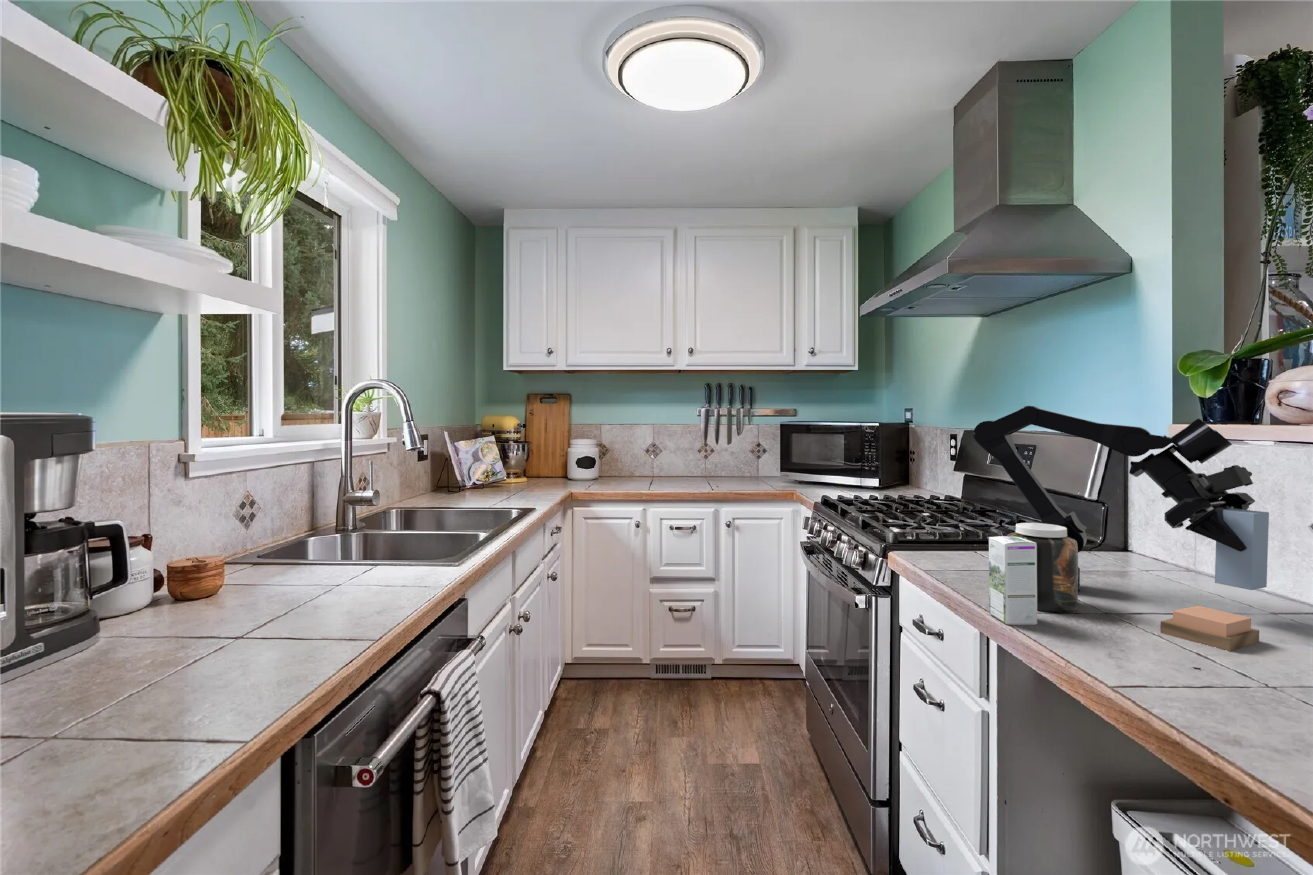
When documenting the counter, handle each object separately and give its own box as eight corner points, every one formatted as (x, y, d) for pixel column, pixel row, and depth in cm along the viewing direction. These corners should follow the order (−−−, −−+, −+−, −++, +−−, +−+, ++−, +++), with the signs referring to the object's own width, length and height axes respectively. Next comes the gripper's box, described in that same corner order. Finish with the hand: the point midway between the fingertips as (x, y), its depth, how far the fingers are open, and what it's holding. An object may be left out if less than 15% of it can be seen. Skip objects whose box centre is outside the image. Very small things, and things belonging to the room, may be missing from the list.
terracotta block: (1226, 636, 93) (1226, 624, 93) (1172, 622, 100) (1172, 611, 100) (1250, 630, 96) (1251, 617, 96) (1197, 617, 102) (1197, 605, 102)
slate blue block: (1251, 590, 103) (1253, 513, 102) (1214, 582, 107) (1217, 509, 107) (1266, 587, 105) (1269, 512, 104) (1229, 580, 109) (1232, 508, 109)
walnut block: (1229, 655, 92) (1229, 639, 92) (1160, 636, 101) (1160, 621, 100) (1259, 645, 96) (1259, 630, 96) (1190, 628, 104) (1190, 613, 104)
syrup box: (1038, 625, 105) (1039, 541, 104) (1004, 625, 105) (1004, 542, 105) (1019, 614, 111) (1020, 535, 110) (987, 614, 111) (987, 535, 110)
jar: (1011, 609, 114) (1012, 529, 113) (1000, 592, 125) (1000, 520, 124) (1086, 615, 110) (1086, 533, 109) (1067, 597, 121) (1067, 522, 120)
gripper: (1186, 452, 105) (1269, 525, 95) (1241, 449, 113) (1324, 516, 103) (1134, 492, 112) (1207, 564, 103) (1189, 487, 120) (1262, 553, 110)
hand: (1251, 548), depth 104 cm, fingers closed on slate blue block, 5 cm apart
